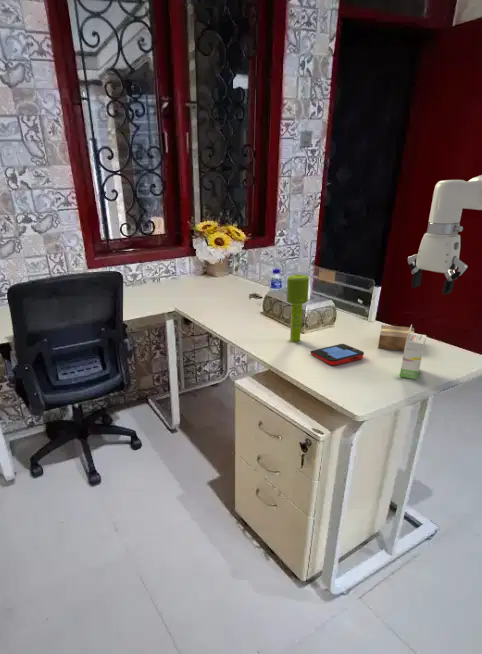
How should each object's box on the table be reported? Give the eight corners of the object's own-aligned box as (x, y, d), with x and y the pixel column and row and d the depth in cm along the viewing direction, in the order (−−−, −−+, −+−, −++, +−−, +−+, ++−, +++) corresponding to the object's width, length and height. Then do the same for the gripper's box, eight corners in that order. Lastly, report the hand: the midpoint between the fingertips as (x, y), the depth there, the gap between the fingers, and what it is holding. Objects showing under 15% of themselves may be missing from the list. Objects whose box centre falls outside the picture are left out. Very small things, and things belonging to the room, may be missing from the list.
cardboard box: (412, 340, 153) (414, 327, 151) (411, 351, 145) (414, 338, 142) (379, 337, 158) (381, 324, 156) (377, 348, 149) (379, 334, 147)
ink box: (416, 380, 126) (425, 334, 120) (399, 376, 129) (406, 332, 122) (420, 368, 133) (429, 325, 126) (403, 366, 135) (411, 323, 129)
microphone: (282, 337, 163) (284, 274, 152) (301, 335, 163) (304, 272, 152) (288, 345, 155) (291, 279, 144) (308, 343, 156) (312, 277, 145)
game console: (342, 346, 152) (343, 340, 151) (366, 359, 141) (367, 353, 140) (308, 353, 148) (309, 347, 147) (331, 367, 137) (331, 361, 136)
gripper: (482, 230, 109) (467, 294, 117) (422, 225, 123) (412, 282, 130) (465, 233, 106) (451, 299, 113) (405, 228, 119) (396, 286, 127)
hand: (430, 290), depth 122 cm, fingers open, 9 cm apart
